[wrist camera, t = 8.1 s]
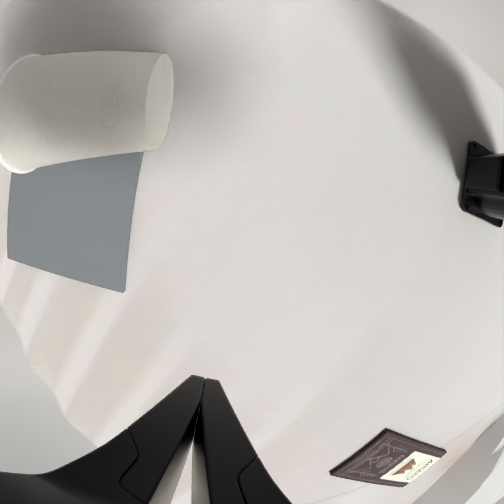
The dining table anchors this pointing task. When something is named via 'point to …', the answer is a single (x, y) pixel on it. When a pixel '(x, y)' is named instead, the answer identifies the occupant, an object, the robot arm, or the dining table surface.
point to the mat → (75, 218)
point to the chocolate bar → (389, 460)
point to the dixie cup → (83, 106)
